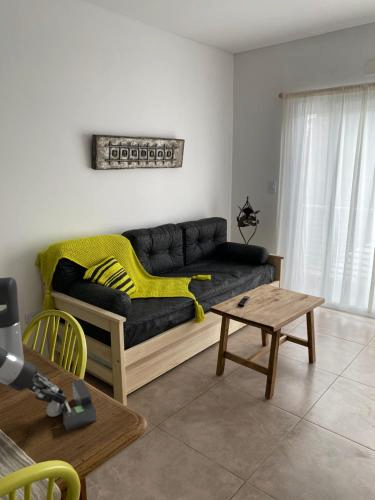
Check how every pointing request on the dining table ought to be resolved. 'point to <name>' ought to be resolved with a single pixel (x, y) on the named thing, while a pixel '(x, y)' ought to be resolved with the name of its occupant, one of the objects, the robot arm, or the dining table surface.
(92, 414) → the gauge frame
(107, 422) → the dining table surface
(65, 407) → the gauge plate
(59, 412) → the rook chess piece
